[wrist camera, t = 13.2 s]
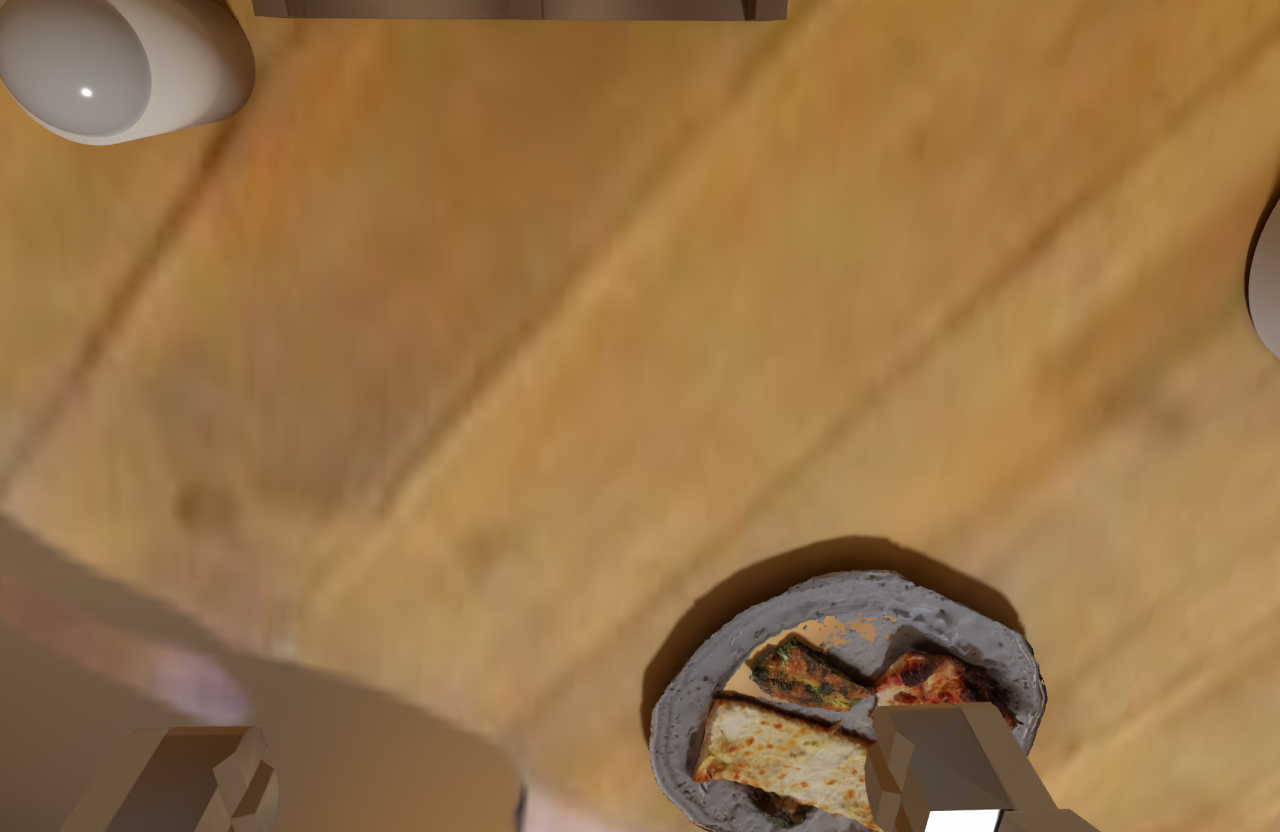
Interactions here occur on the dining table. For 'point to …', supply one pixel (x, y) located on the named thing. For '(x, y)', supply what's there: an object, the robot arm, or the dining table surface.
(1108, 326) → the dining table surface
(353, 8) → the brown wooden tray
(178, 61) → the salt cellar
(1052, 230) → the dining table surface
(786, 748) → the food plate
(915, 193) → the dining table surface
